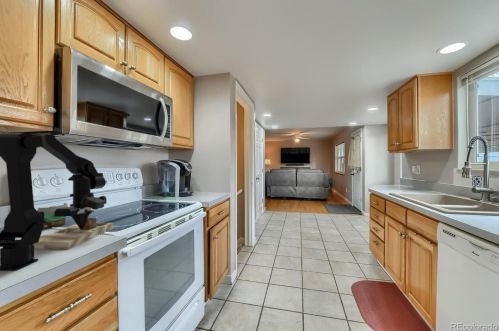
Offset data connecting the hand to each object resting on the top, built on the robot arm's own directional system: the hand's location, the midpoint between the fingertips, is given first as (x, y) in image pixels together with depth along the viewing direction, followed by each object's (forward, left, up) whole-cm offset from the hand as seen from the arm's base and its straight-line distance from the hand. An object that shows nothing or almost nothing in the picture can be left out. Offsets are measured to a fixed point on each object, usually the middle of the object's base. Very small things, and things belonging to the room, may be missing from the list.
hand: (81, 228), depth 87 cm
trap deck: (0, +3, -4) cm, 5 cm away
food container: (+14, +24, -4) cm, 28 cm away
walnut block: (+4, 0, -1) cm, 4 cm away
